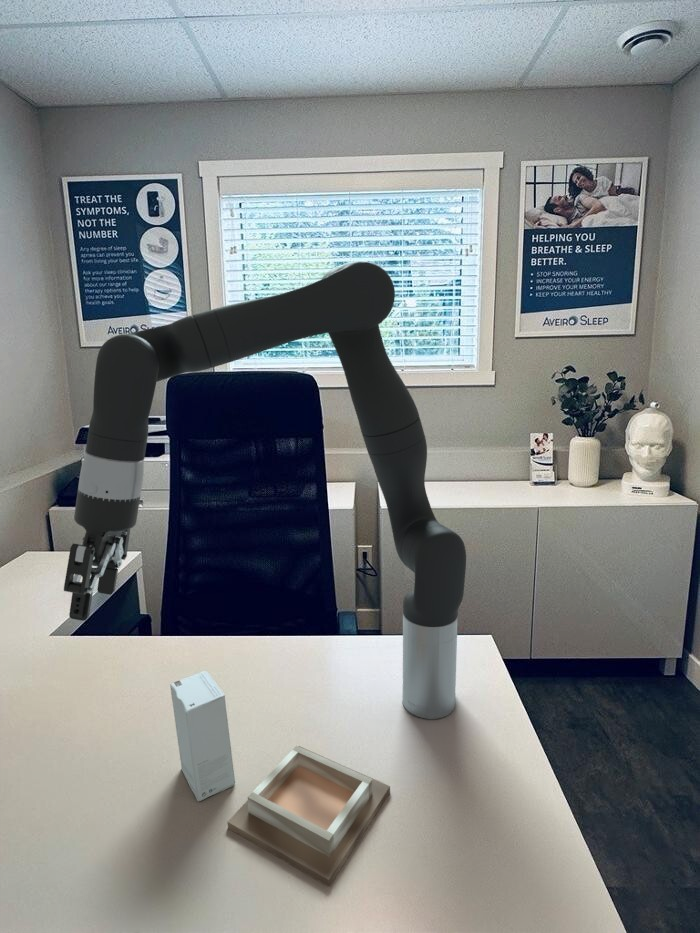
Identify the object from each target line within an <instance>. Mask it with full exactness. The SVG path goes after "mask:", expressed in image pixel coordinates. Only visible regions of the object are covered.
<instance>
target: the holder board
mask: <svg viewBox="0 0 700 933" xmlns="http://www.w3.org/2000/svg"><path fill="white" fill-rule="evenodd" d="M390 793H391V785H389V784H386V783H384V782H381V781H379V780H377V779H374V778H373V777H370V776H368V775H365V774H363V773H361V772H359V771H357V770H354V769H353V768H350V767H347V766H346V765H343V764H341V763H339V762H336V761H335V760H332V759H330V758H328V757H325V756H323V755H320V754H318V753H316V752H314V751H311V750H310V749H307V748H305V747H303V746H300V745H295V746H294V748H292V749H291V751H290V752H288V754H286V756H285V757H284V758H283V759H282V760H281V761H280V762H279V763H278V764H277V766H275V767H274V768H273V770H272V771H271V772H270V773H269V774H268V775H267V776H266V777H265V778H264V779H263V780H262V781H261V782H260V783H259V784H258V785H257V787H256V788H255V789H254V790H253V791H252V792H251V793H250V794H249V795H248V796H247V800H246V801H245V802H244V803H243V804H242V806H240V808H239V809H238V810H237V811H236V812H235V813H234V814H233V815H232V816H231V817H230V818H229V819H228V820H227V829H230V831H232V832H235V834H237V835H239V836H241V837H243V838H245V839H247V840H248V841H250V842H251V843H253V844H255V845H257V846H259V848H262V849H264V850H265V851H267V852H269V853H270V854H272V855H274V856H275V857H277V858H279V859H281V860H283V861H284V862H286V863H287V864H289V865H291V866H293V867H295V868H296V869H298V870H300V871H302V872H303V873H304V874H307V875H309V876H310V877H312V878H314V879H315V880H316V881H318V882H320V883H322V884H324V885H325V886H327V887H330V886H331V884H332V882H333V881H334V880H335V878H336V876H337V875H338V873H339V872H340V870H341V869H342V867H343V866H344V864H345V862H346V861H347V860H348V858H349V857H350V854H351V853H352V852H353V850H354V849H355V847H356V846H357V845H358V843H359V841H360V840H361V838H362V836H363V835H364V833H365V832H366V830H367V829H368V827H369V825H370V824H371V823H372V821H373V819H374V818H375V816H376V815H377V813H378V812H379V809H380V808H382V807H381V806H382V805H383V804H384V802H385V801H386V799H387V798H388V796H389V795H390ZM366 828H367V829H366Z"/></svg>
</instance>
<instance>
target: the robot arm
mask: <svg viewBox="0 0 700 933" xmlns="http://www.w3.org/2000/svg"><path fill="white" fill-rule="evenodd" d="M395 298H396V291H395V286H394V282H393V279H392V278H391V276H390V274H389V273H388V272H387V271H386V270H385V269H384V268H383V267H382V266H380V265H378V264H376V263H374V262H371V261H367V260H353V261H349V262H346V263H344V264H341V265H338V266H335V267H333V268H331V269H330V270H328V271H327V272H326V273H324V275H323V276H322V277H321V279H319V280H317V281H315V282H312V283H310V284H307V285H305V286H302V287H299V288H295V289H292V290H289V291H285V292H282V293H279V294H275V295H274V294H273V295H270V296H266V297H261V298H255V299H253V300H252V299H251V300H247V301H242V302H237V303H233V304H228V305H224V306H220V307H215V308H213V309H210V310H209V309H208V310H206V311H202V312H199V313H194V314H192V315H188V316H185V317H183V318H180V319H177V320H176V321H173V322H172V323H169V324H164V325H160V326H155V327H152V328H151V327H150V328H147V329H143V330H139V331H135V332H129V333H126V334H125V333H123V334H119V335H118V334H117V335H115V336H113V337H110V338H109V339H108V340H106V341H104V343H103V344H102V345H101V347H100V349H99V350H98V354H97V357H96V363H95V370H94V384H93V385H94V386H93V401H92V402H93V406H92V408H93V410H92V414H91V418H90V421H89V426H88V432H87V439H86V447H85V454H84V458H83V460H82V463H81V467H80V473H79V480H78V486H77V487H78V488H77V492H76V494H77V495H76V500H75V509H74V513H73V514H74V516H73V519H74V521H75V523H76V524H77V525H78V526H81V527H82V528H83V529H84V531H85V534H84V537H83V538H82V540H81V541H80V544H78V543H72V544H71V546H70V548H69V554H68V561H67V567H66V573H65V579H64V585H63V592H66V593H67V592H68V593H72V594H71V600H70V607H69V614H68V616H69V619H72V620H76V621H81V622H82V621H86V620H87V619H88V618H90V612H91V607H92V606H91V605H92V598H93V594H94V592H93V591H94V590H95V586H96V583H97V582H98V584H97V589H96V591H97V592H98V593H100V594H103V595H108V596H109V595H113V593H115V591H116V585H117V579H118V572H119V569H120V568H121V566H122V564H123V561H124V560H126V558H127V556H128V549H129V542H130V533H131V529H133V528H134V527H135V526H136V524H137V521H138V520H137V519H138V513H139V506H140V501H141V496H142V494H141V493H142V488H143V483H144V470H145V469H144V468H145V467H144V466H145V465H144V464H145V463H144V462H145V457H146V450H147V444H148V437H149V417H150V413H151V409H152V404H153V401H154V396H155V391H156V386H157V383H158V382H161V381H163V380H167V379H170V378H173V377H176V376H178V375H181V374H184V373H197V372H201V371H206V370H209V369H212V368H216V367H220V366H223V365H226V364H228V363H232V362H235V361H238V360H239V361H240V360H241V359H244V358H246V357H247V358H248V357H250V356H253V355H256V354H259V353H262V352H265V351H267V350H271V349H274V348H276V347H279V346H283V345H284V344H289V343H292V342H295V341H298V340H303V339H306V338H309V337H313V336H314V337H315V336H319V335H322V334H328V335H329V338H330V340H331V343H332V344H333V345H332V346H333V347H334V349H335V351H336V353H337V356H338V359H339V361H340V363H341V366H342V370H343V373H344V376H345V379H346V383H347V386H348V391H349V395H350V397H351V402H352V404H353V408H354V410H355V413H356V417H357V421H358V424H359V427H360V432H361V435H362V439H363V442H364V444H365V447H366V450H367V453H368V456H369V459H370V461H371V464H372V467H373V471H374V473H375V476H376V479H377V482H378V484H379V488H380V490H381V492H382V496H383V498H384V500H385V504H386V508H387V512H388V516H389V522H390V528H391V532H392V537H393V542H394V546H395V550H396V553H397V555H398V558H399V559H400V561H401V562H402V564H403V565H404V566H406V567H407V568H408V569H409V570H410V571H411V572H413V574H414V586H413V590H410V591H409V592H407V593H406V594H405V596H404V598H403V602H402V704H403V707H404V708H405V709H406V711H407V712H408V713H410V714H412V715H413V716H416V717H418V718H421V719H427V720H436V719H438V720H439V719H441V718H445V717H447V716H449V715H450V714H452V712H453V711H454V709H455V706H456V685H457V683H456V682H457V655H458V654H457V653H458V650H457V648H458V646H457V645H458V619H459V618H458V616H459V608H460V606H461V604H462V601H463V598H464V595H465V594H464V592H465V579H466V569H467V568H466V567H467V566H466V565H467V551H466V546H465V543H464V541H463V538H462V537H461V536H460V535H459V534H458V533H457V532H455V531H453V530H452V529H451V528H449V527H447V526H445V525H443V524H442V523H440V522H439V521H438V520H437V518H436V517H435V514H434V512H433V509H432V507H431V506H432V505H431V504H430V503H431V502H430V501H429V497H428V494H427V490H426V485H425V484H426V483H425V477H426V469H427V462H428V460H427V459H428V445H427V444H428V443H427V440H426V435H425V431H424V427H423V425H422V420H421V417H420V413H419V410H418V408H417V404H416V403H415V400H414V398H413V397H412V395H411V393H410V391H409V390H408V387H407V385H405V383H404V381H403V380H402V377H401V376H400V375H399V373H398V371H397V370H396V368H395V366H394V365H393V363H392V360H391V359H390V358H389V355H388V353H387V350H386V348H385V345H384V342H383V338H382V333H381V329H380V324H381V323H383V322H384V321H385V319H386V318H387V317H388V316H389V315H390V314H391V311H392V309H393V307H394V303H395V300H396V299H395ZM122 560H123V561H122ZM97 580H98V581H97Z"/></svg>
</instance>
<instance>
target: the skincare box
mask: <svg viewBox="0 0 700 933" xmlns="http://www.w3.org/2000/svg"><path fill="white" fill-rule="evenodd" d="M169 687H170V695H171V701H172V708H173V714H174V716H173V717H174V722H175V723H174V724H175V731H176V738H177V745H178V752H179V757H180V758H179V760H180V768H181V770H182V772H183V775H184V777H185V779H186V781H187V782H188V785H189V787H190V789H191V791H192V792H193V795H194V796H195V799H196V800H197V801H196V802H201V801H203V800H205V799H207V798H208V797H211V796H213V795H216V794H218V793H222V792H223V791H225V790H227V789H230V788H231V787H234V786H235V785H236V779H235V778H236V777H235V770H234V769H235V768H234V762H233V753H232V752H233V751H232V744H231V738H230V737H231V736H230V730H229V729H230V728H229V722H228V721H229V720H228V712H227V705H226V704H227V703H226V694H225V693H224V691H223V690H222V689H221V687H220V686H219V685H218V684H217V682H216V681H215V679H214V678H213V677H212V676H211V674H210V673H209V672H208V670H203V671H200V672H198V673H196V674H195V673H194V674H192V675H190V676H188V677H184V678H182V679H179V680H177V681H174V682H172V683H170V684H169Z"/></svg>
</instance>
